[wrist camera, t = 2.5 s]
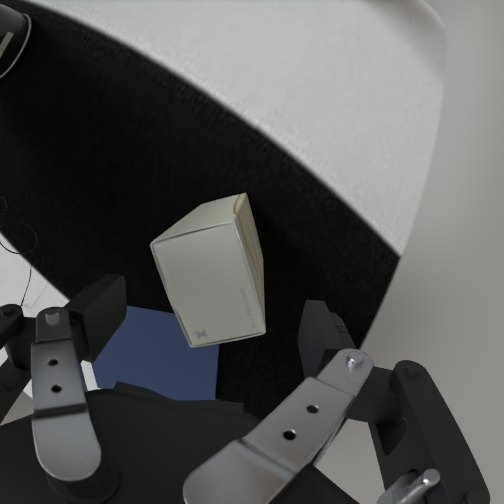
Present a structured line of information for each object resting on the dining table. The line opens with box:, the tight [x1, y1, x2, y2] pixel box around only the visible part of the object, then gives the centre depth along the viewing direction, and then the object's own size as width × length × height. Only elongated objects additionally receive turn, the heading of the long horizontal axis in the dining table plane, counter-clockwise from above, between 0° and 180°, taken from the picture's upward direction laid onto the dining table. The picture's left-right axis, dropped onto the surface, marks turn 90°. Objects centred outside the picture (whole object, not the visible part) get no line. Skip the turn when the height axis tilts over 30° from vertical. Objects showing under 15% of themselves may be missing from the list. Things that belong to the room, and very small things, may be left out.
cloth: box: [91, 305, 219, 400], centre depth 30 cm, size 16×14×1 cm
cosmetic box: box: [150, 193, 266, 348], centre depth 19 cm, size 6×4×12 cm
